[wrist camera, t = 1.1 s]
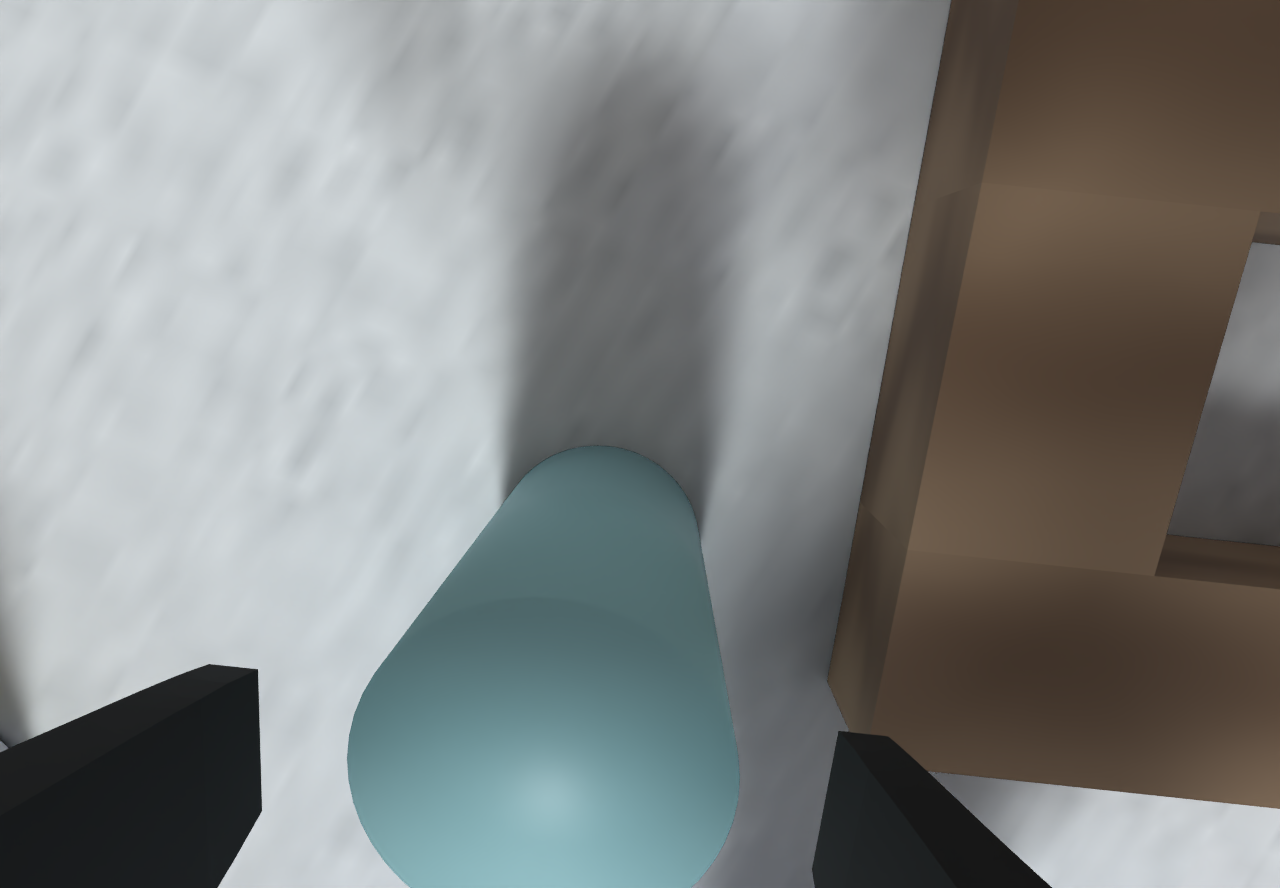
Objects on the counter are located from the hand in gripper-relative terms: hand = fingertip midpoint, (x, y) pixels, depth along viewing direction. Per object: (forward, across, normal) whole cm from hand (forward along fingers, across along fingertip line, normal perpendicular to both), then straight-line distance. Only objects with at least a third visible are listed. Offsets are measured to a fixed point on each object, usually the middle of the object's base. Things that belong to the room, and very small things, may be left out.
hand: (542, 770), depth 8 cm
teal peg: (+8, 0, 0) cm, 8 cm away
